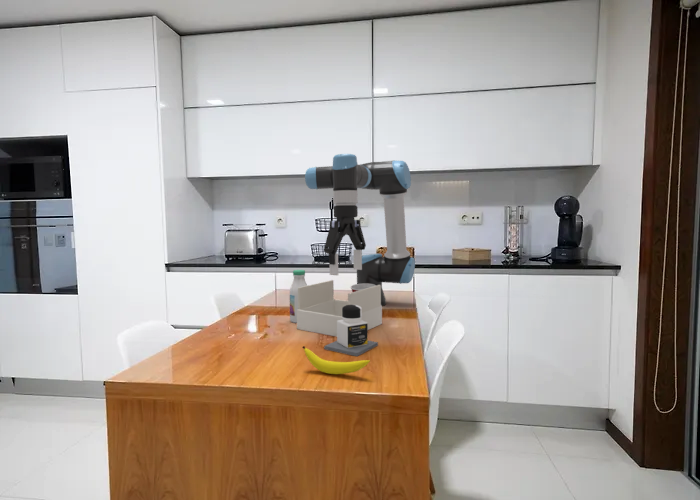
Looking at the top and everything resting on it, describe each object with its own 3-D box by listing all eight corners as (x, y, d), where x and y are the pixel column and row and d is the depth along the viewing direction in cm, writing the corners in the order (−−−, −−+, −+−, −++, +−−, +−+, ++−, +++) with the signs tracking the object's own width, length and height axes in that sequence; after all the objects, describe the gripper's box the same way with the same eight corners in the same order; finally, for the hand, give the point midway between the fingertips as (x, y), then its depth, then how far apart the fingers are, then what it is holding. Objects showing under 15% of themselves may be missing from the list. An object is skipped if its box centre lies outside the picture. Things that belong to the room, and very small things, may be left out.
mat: (346, 339, 133) (346, 336, 133) (377, 345, 126) (377, 342, 126) (324, 349, 123) (324, 346, 123) (357, 356, 117) (357, 353, 116)
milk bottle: (311, 318, 161) (310, 269, 159) (307, 323, 153) (306, 271, 152) (292, 318, 162) (291, 269, 160) (287, 323, 154) (286, 271, 153)
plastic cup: (346, 315, 165) (346, 286, 164) (356, 310, 175) (355, 282, 174) (371, 317, 161) (371, 288, 160) (379, 312, 171) (379, 284, 170)
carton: (333, 316, 165) (333, 279, 164) (381, 323, 152) (381, 284, 151) (297, 328, 146) (296, 288, 145) (348, 338, 134) (347, 294, 132)
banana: (368, 382, 98) (368, 356, 98) (300, 371, 106) (299, 347, 105) (372, 377, 101) (372, 353, 101) (305, 367, 108) (305, 344, 108)
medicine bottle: (348, 348, 120) (347, 309, 119) (336, 342, 126) (336, 305, 125) (368, 344, 124) (367, 306, 123) (356, 339, 130) (355, 302, 129)
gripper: (356, 205, 138) (357, 266, 140) (310, 204, 117) (312, 276, 119) (375, 204, 134) (376, 268, 136) (331, 204, 113) (333, 278, 115)
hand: (346, 272), depth 128 cm, fingers open, 13 cm apart
